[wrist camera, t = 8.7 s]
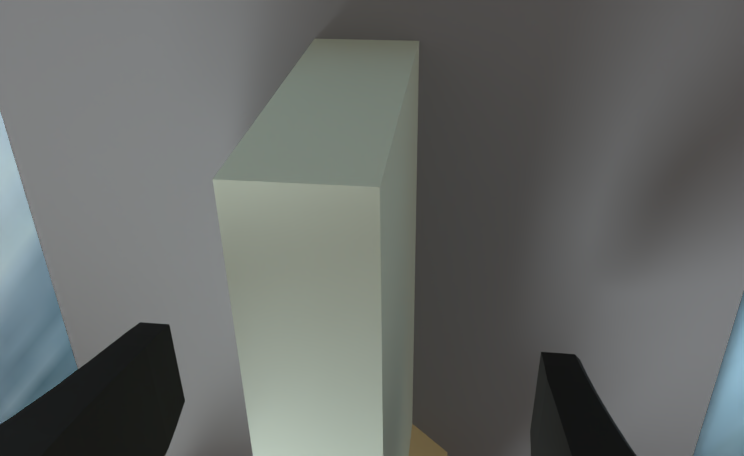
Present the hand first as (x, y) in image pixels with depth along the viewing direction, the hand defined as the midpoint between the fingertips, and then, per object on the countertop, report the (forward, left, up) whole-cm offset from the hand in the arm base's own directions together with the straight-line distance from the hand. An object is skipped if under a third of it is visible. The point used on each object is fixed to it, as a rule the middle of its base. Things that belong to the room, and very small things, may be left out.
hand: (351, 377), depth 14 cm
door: (-1, 0, -3) cm, 3 cm away
